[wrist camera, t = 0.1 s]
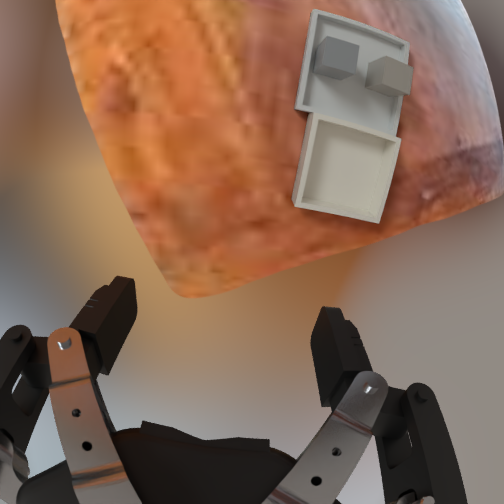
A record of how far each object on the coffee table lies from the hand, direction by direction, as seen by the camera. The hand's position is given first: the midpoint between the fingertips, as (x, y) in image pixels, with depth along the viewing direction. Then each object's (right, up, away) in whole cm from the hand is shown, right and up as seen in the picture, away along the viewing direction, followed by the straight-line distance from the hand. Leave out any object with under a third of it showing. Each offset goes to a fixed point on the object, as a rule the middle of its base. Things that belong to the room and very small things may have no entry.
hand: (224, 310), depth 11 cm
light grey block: (+19, +26, +19) cm, 37 cm away
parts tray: (+15, +27, +19) cm, 36 cm away
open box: (+14, +14, +25) cm, 32 cm away
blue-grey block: (+11, +27, +18) cm, 35 cm away
